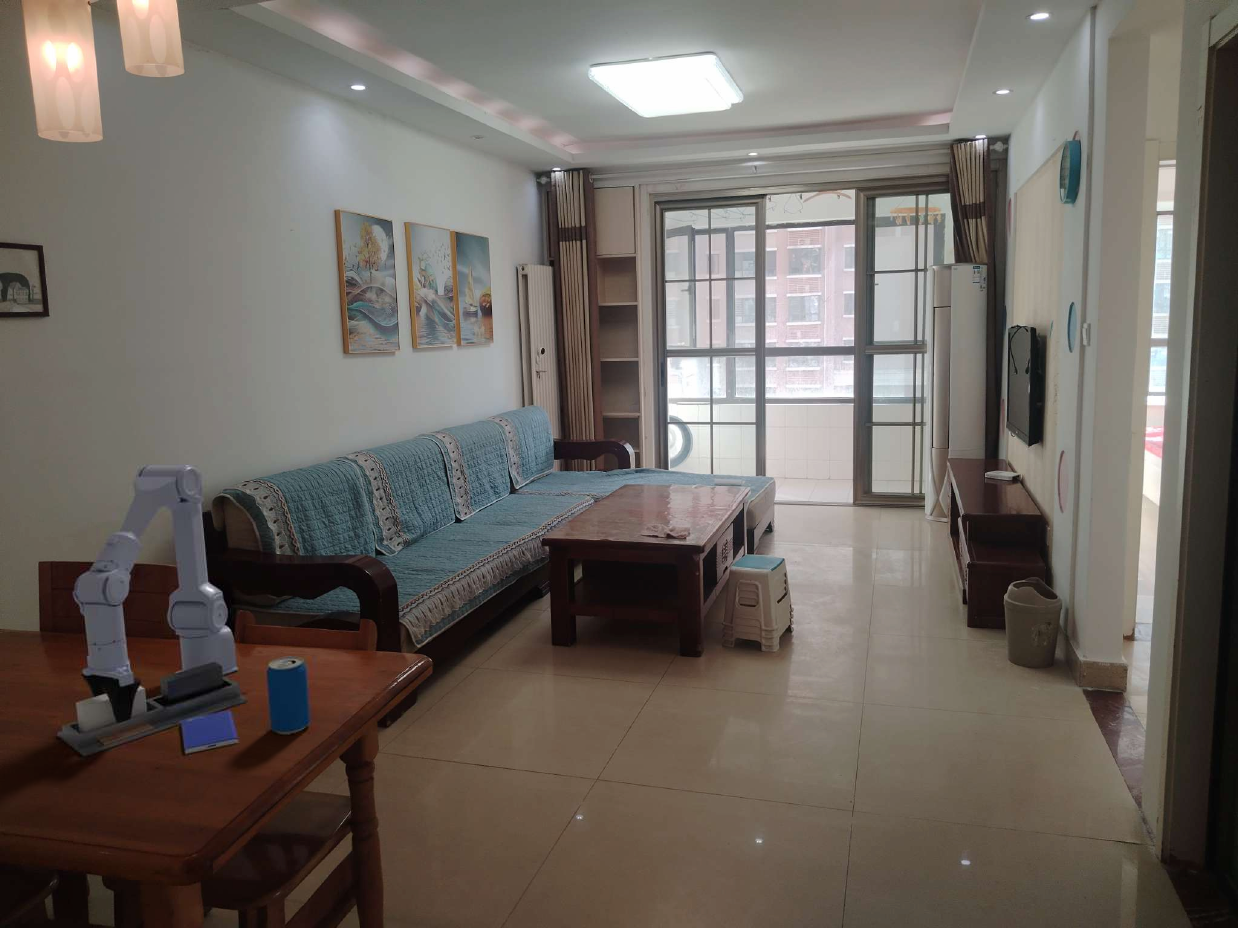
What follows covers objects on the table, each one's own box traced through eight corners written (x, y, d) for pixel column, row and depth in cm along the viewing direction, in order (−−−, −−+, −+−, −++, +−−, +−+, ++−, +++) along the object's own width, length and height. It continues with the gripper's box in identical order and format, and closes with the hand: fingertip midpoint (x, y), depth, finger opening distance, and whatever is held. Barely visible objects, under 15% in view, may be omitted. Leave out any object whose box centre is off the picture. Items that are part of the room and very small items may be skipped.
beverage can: (318, 722, 160) (313, 657, 158) (294, 738, 154) (289, 671, 152) (288, 718, 162) (283, 653, 160) (262, 733, 156) (257, 666, 154)
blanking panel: (140, 716, 162) (137, 684, 161) (148, 720, 160) (144, 688, 159) (79, 735, 155) (76, 702, 154) (86, 740, 153) (82, 707, 152)
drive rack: (217, 685, 177) (214, 653, 176) (247, 701, 169) (245, 667, 168) (57, 735, 156) (53, 699, 155) (84, 756, 148) (80, 718, 147)
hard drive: (180, 719, 160) (184, 748, 149) (230, 709, 163) (238, 736, 153) (181, 728, 160) (185, 757, 149) (231, 717, 164) (238, 745, 153)
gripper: (65, 636, 157) (73, 711, 159) (98, 655, 147) (106, 734, 150) (108, 626, 162) (116, 698, 164) (143, 643, 153) (150, 719, 155)
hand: (114, 714), depth 157 cm, fingers open, 7 cm apart
